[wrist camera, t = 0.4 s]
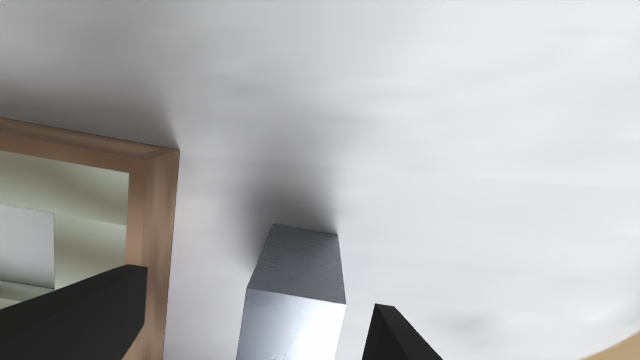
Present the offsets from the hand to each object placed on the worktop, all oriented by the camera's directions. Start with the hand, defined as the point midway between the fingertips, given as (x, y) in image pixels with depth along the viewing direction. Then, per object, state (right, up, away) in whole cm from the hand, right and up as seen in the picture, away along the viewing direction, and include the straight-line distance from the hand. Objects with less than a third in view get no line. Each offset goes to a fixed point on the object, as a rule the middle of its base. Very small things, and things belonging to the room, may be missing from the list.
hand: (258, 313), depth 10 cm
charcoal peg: (+1, -1, +10) cm, 10 cm away
